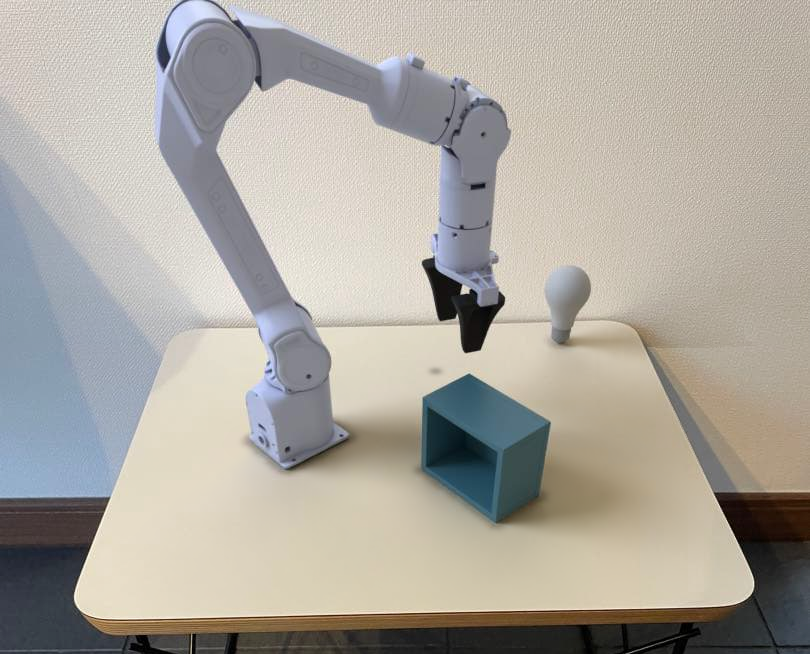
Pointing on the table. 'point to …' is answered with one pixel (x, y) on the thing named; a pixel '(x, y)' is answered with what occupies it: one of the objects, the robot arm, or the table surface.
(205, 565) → the table surface
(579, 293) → the lightbulb
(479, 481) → the teal open box
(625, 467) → the table surface
